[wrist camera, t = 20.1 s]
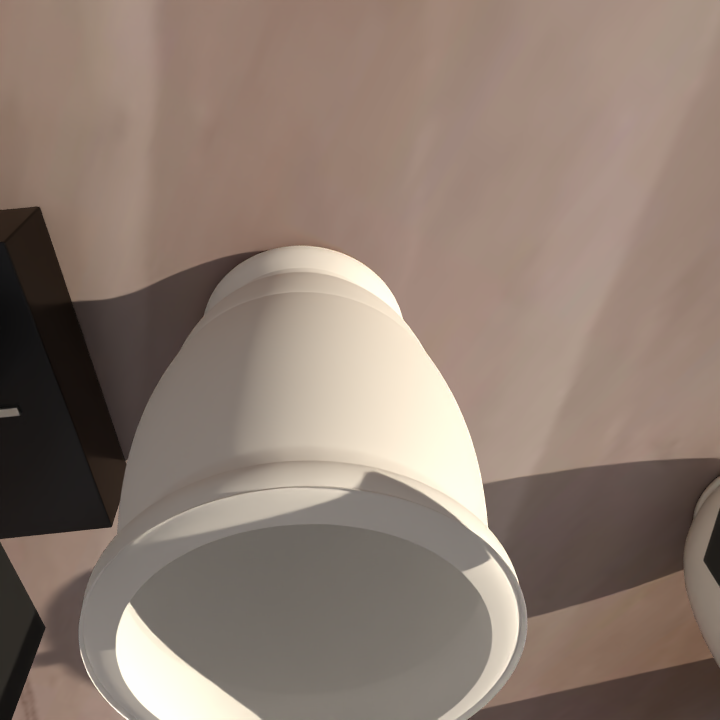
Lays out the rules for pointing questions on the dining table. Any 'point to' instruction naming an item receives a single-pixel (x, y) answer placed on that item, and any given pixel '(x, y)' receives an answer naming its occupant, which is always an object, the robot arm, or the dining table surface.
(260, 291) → the jar
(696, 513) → the lidded bowl
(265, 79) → the dining table surface
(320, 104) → the dining table surface
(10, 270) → the hob
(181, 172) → the dining table surface
